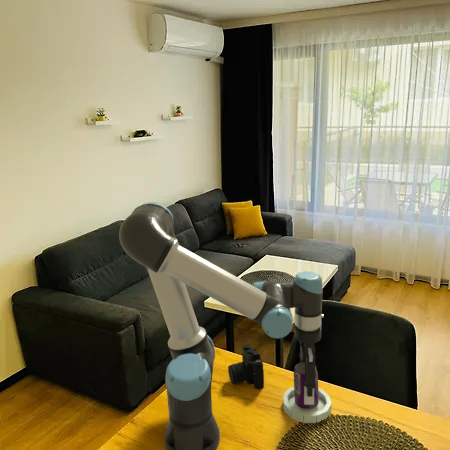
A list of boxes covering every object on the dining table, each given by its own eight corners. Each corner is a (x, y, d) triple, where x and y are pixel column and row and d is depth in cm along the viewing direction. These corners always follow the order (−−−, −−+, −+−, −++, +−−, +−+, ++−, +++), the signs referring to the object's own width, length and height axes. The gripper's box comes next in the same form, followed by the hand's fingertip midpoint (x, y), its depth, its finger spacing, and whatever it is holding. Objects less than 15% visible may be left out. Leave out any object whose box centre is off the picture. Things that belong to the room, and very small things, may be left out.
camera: (224, 370, 151) (223, 344, 149) (253, 364, 154) (252, 339, 151) (235, 394, 138) (234, 367, 136) (266, 388, 141) (266, 361, 138)
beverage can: (318, 411, 127) (317, 374, 124) (294, 410, 128) (292, 373, 126) (318, 397, 134) (317, 361, 131) (295, 396, 135) (294, 360, 133)
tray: (285, 422, 125) (285, 415, 124) (281, 391, 138) (281, 385, 138) (334, 423, 124) (334, 415, 124) (326, 391, 138) (326, 385, 137)
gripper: (327, 345, 114) (325, 418, 120) (315, 308, 134) (314, 372, 140) (298, 345, 114) (298, 418, 120) (291, 308, 135) (290, 372, 141)
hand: (306, 393), depth 130 cm, fingers open, 8 cm apart
